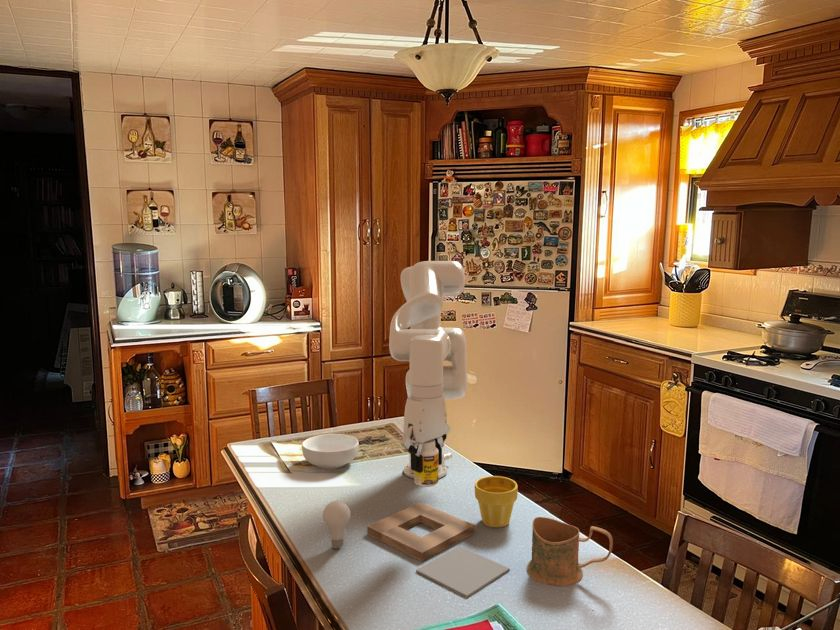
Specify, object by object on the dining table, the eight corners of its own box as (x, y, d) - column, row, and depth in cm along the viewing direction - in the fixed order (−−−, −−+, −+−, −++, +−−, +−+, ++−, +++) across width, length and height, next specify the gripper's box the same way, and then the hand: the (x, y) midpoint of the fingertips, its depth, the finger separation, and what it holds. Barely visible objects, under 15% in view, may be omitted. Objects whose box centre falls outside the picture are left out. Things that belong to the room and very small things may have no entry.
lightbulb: (356, 544, 154) (355, 499, 153) (342, 557, 149) (340, 510, 147) (333, 539, 157) (332, 494, 155) (318, 551, 151) (317, 505, 150)
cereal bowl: (370, 461, 205) (369, 438, 204) (335, 479, 192) (334, 455, 190) (327, 450, 214) (326, 429, 213) (290, 467, 201) (289, 444, 199)
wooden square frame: (420, 509, 172) (420, 502, 172) (474, 532, 160) (474, 524, 159) (367, 534, 159) (367, 526, 159) (422, 561, 147) (422, 552, 147)
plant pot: (488, 535, 159) (488, 495, 157) (466, 517, 168) (467, 479, 166) (525, 526, 163) (526, 487, 161) (502, 509, 172) (502, 472, 171)
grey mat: (459, 547, 153) (459, 545, 153) (509, 570, 143) (509, 568, 143) (416, 571, 143) (416, 569, 143) (467, 597, 133) (467, 595, 133)
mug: (601, 601, 132) (603, 544, 130) (518, 576, 141) (519, 522, 139) (618, 574, 141) (620, 520, 140) (539, 552, 151) (540, 501, 149)
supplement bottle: (422, 490, 151) (422, 446, 149) (409, 481, 156) (409, 439, 154) (443, 484, 154) (443, 441, 152) (429, 476, 159) (429, 434, 157)
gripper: (440, 380, 160) (439, 453, 163) (386, 394, 148) (387, 473, 151) (464, 386, 155) (463, 461, 158) (410, 401, 143) (411, 482, 146)
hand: (426, 466), depth 154 cm, fingers closed on supplement bottle, 5 cm apart
